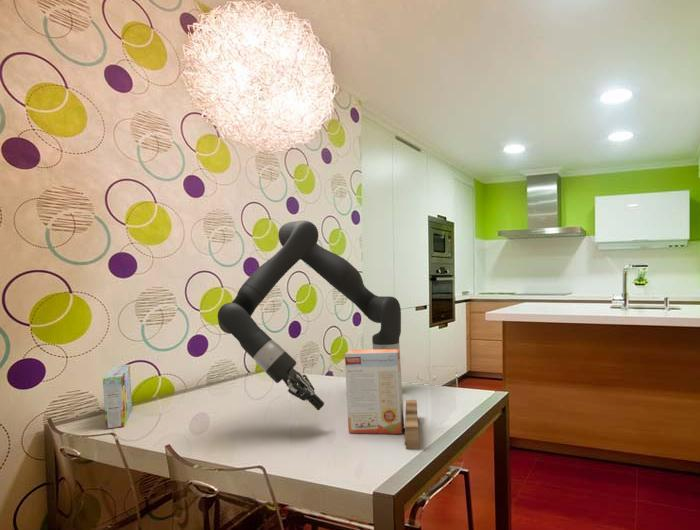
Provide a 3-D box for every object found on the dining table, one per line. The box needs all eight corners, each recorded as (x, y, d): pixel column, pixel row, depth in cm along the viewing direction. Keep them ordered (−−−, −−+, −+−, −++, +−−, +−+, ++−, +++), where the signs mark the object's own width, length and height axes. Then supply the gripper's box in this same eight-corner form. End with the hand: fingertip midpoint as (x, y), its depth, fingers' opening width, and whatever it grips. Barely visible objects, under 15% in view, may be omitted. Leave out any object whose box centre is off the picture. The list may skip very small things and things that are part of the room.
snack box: (114, 411, 155) (112, 365, 156) (132, 409, 157) (131, 363, 158) (103, 430, 135) (102, 377, 136) (125, 427, 137) (123, 375, 138)
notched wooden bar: (405, 417, 133) (404, 400, 133) (417, 417, 133) (416, 399, 133) (404, 448, 109) (403, 427, 110) (419, 448, 109) (418, 427, 109)
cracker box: (404, 427, 125) (400, 348, 126) (402, 435, 119) (397, 351, 120) (352, 426, 128) (349, 348, 129) (347, 433, 122) (344, 352, 123)
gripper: (277, 354, 119) (327, 403, 117) (290, 347, 132) (335, 390, 130) (257, 376, 119) (306, 425, 117) (272, 366, 132) (316, 410, 131)
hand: (321, 407), depth 124 cm, fingers closed
